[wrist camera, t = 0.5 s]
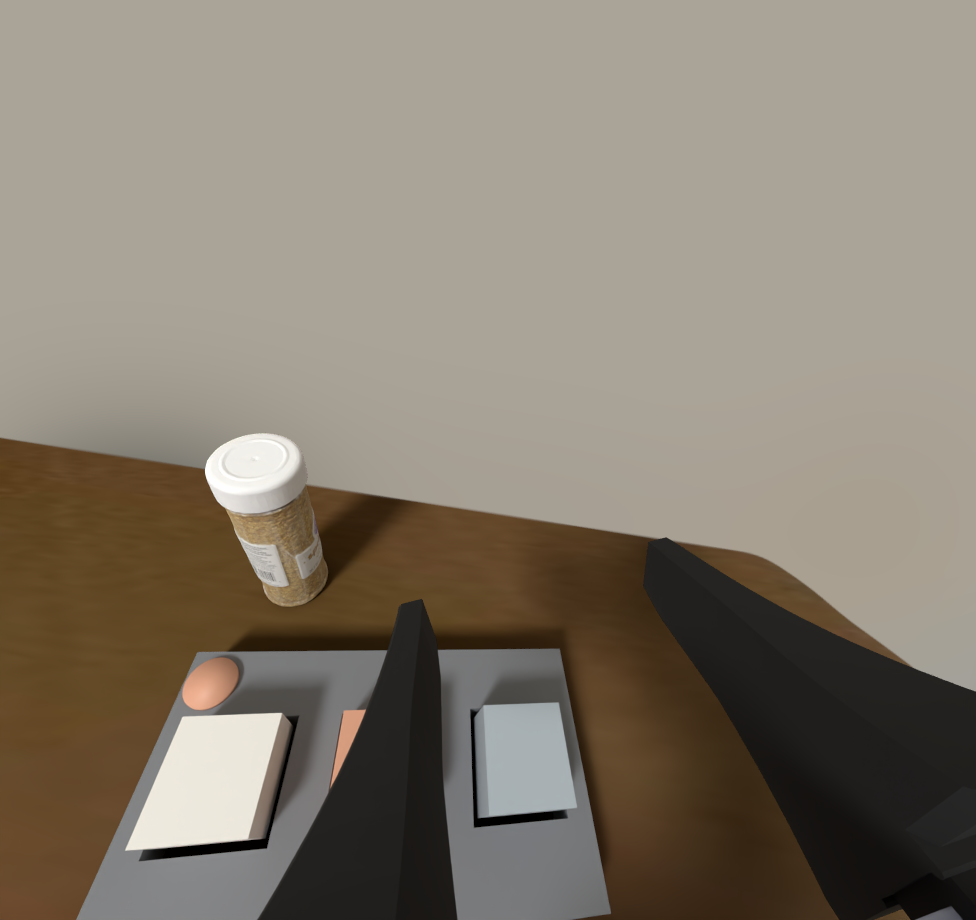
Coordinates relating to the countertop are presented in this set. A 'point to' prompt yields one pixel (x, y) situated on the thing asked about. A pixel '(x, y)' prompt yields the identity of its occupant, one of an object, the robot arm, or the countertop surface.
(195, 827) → the off-white button
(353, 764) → the robot arm
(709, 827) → the countertop surface
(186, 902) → the console
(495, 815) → the grey button
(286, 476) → the spice jar
